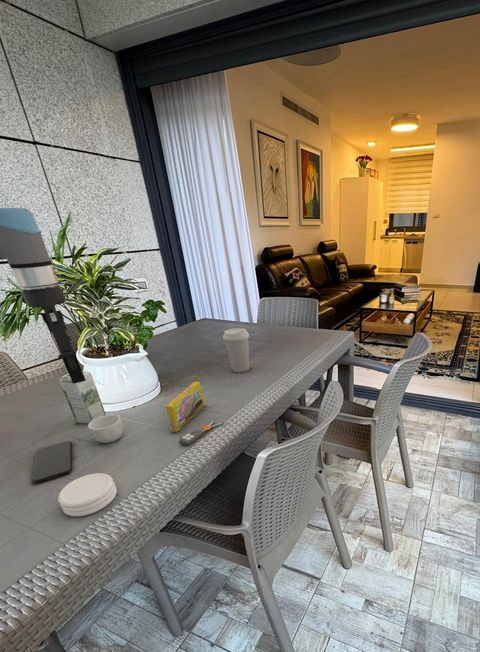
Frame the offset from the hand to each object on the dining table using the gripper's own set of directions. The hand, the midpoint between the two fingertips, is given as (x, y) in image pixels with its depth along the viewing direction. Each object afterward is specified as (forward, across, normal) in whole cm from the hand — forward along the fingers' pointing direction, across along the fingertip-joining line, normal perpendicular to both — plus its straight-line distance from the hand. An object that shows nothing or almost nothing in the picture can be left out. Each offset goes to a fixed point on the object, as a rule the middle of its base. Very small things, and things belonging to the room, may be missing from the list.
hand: (75, 373), depth 90 cm
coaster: (+18, -29, +6) cm, 35 cm away
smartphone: (+18, -8, +11) cm, 23 cm away
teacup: (+18, -4, -3) cm, 19 cm away
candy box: (+18, -8, -22) cm, 30 cm away
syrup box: (+18, +11, 0) cm, 21 cm away
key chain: (+18, -19, -22) cm, 35 cm away
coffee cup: (+18, +16, -52) cm, 57 cm away
